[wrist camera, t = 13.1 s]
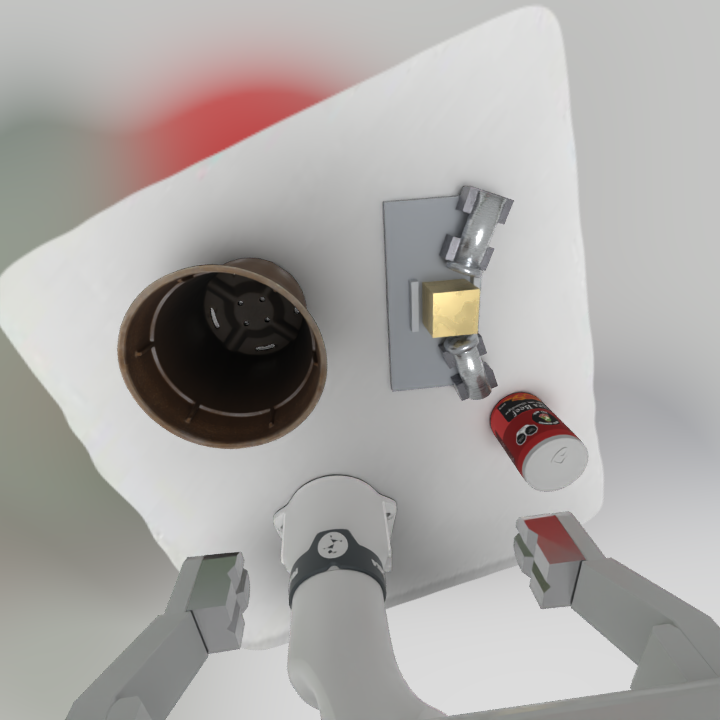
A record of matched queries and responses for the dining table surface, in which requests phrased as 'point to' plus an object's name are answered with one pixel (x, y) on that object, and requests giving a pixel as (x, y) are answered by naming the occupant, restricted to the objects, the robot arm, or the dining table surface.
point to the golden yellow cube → (450, 307)
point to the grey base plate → (418, 286)
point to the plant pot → (223, 354)
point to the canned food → (538, 442)
